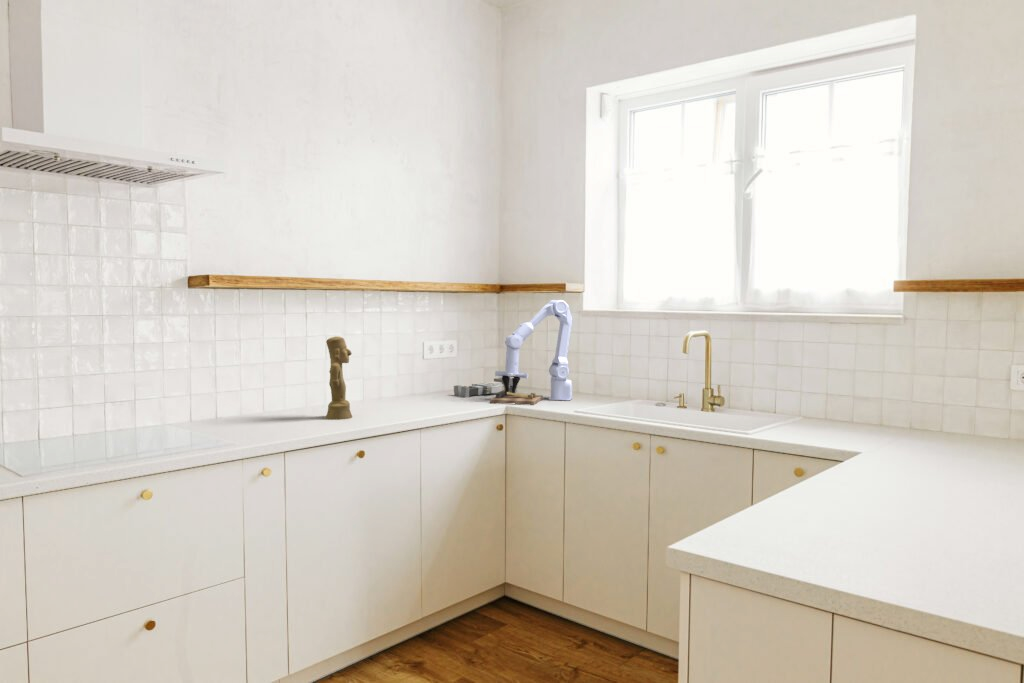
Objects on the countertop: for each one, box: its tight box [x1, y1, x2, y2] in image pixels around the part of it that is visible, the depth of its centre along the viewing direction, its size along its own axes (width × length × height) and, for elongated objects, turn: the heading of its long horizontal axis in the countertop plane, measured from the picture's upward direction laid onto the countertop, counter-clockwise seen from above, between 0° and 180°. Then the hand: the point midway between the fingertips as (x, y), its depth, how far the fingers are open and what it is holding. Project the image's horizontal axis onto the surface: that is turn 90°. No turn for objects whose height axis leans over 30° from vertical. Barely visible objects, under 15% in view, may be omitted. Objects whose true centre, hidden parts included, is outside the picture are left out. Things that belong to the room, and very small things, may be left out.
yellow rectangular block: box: [507, 391, 529, 398], centre depth 322 cm, size 11×3×1 cm, turn 77°
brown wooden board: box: [489, 390, 544, 406], centre depth 322 cm, size 19×20×3 cm
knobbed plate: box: [509, 385, 518, 393], centre depth 329 cm, size 4×4×3 cm
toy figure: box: [453, 377, 513, 398], centre depth 345 cm, size 11×7×30 cm
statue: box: [325, 336, 353, 420], centre depth 273 cm, size 11×10×30 cm
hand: (510, 393), depth 322 cm, fingers closed on yellow rectangular block, 2 cm apart
